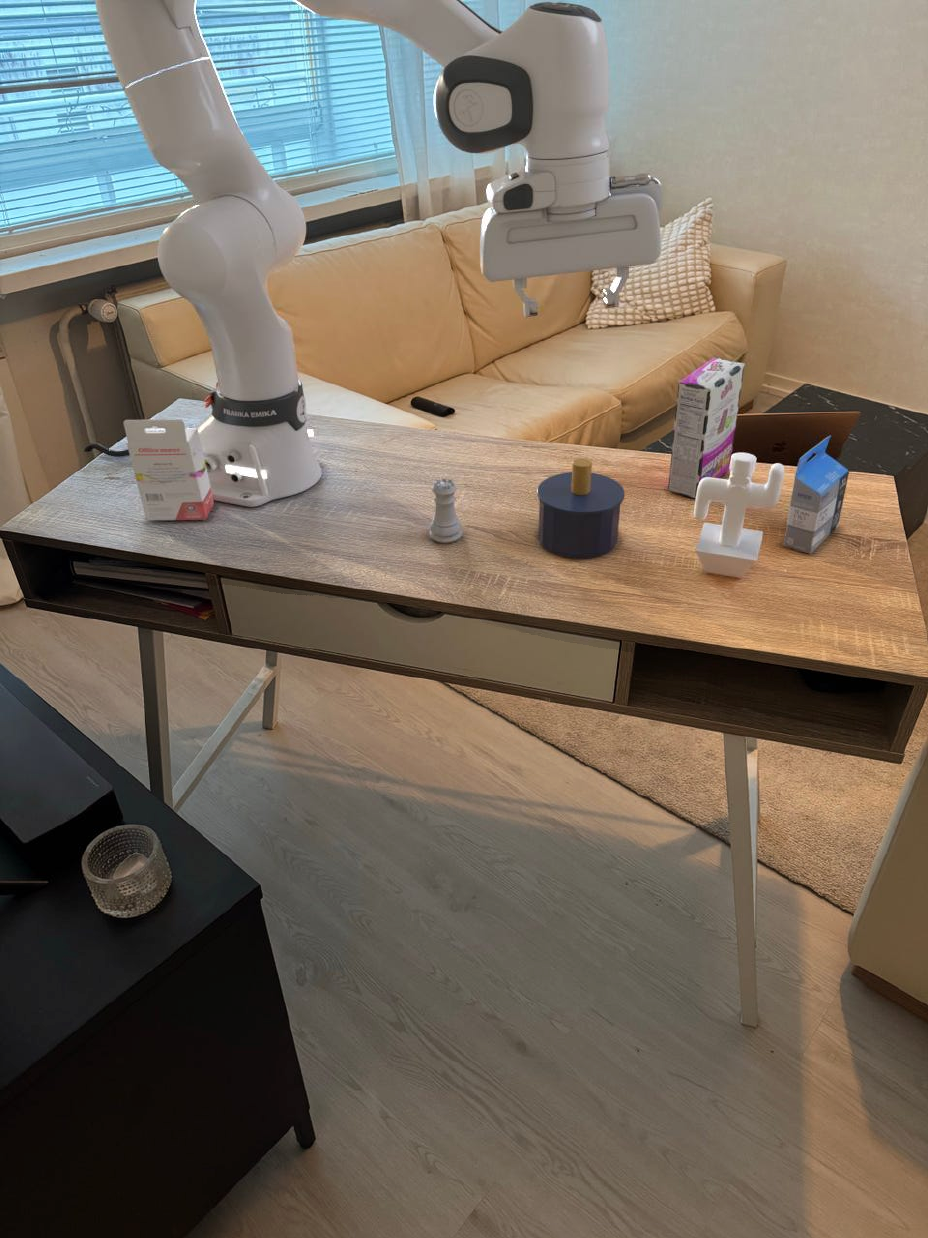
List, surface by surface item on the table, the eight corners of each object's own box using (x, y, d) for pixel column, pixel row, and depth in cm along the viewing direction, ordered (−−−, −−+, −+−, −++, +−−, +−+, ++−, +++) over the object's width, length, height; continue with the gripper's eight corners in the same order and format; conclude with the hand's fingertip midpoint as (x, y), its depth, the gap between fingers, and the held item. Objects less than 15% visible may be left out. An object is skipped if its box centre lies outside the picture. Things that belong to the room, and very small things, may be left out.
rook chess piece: (459, 546, 120) (457, 491, 115) (425, 543, 121) (423, 488, 116) (466, 529, 123) (464, 475, 119) (433, 526, 124) (431, 472, 119)
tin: (534, 555, 117) (535, 510, 114) (543, 517, 126) (545, 474, 122) (614, 562, 116) (618, 516, 112) (619, 522, 124) (622, 479, 120)
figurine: (691, 545, 118) (707, 437, 110) (767, 558, 116) (789, 448, 107) (682, 574, 113) (697, 463, 104) (761, 588, 110) (783, 474, 102)
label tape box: (810, 555, 116) (830, 466, 109) (779, 545, 118) (797, 457, 111) (838, 528, 121) (859, 442, 114) (808, 518, 123) (827, 433, 116)
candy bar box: (698, 462, 138) (713, 355, 129) (730, 471, 136) (747, 362, 126) (664, 491, 131) (677, 380, 121) (696, 500, 128) (712, 388, 119)
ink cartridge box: (215, 503, 130) (195, 405, 122) (206, 520, 126) (185, 420, 118) (156, 504, 131) (132, 406, 122) (145, 521, 127) (119, 421, 118)
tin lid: (531, 516, 114) (532, 479, 111) (542, 476, 123) (543, 441, 120) (621, 522, 112) (624, 485, 109) (625, 482, 121) (628, 446, 118)
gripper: (656, 166, 102) (652, 293, 110) (472, 186, 101) (482, 312, 109) (671, 175, 96) (666, 308, 104) (478, 197, 96) (487, 329, 104)
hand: (571, 311), depth 107 cm, fingers open, 8 cm apart
